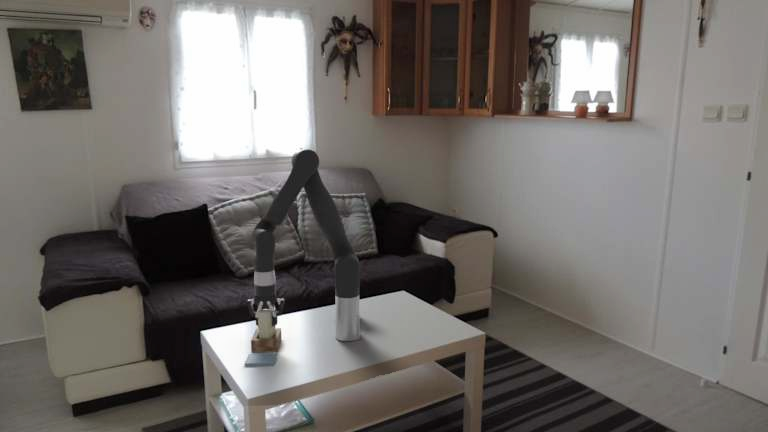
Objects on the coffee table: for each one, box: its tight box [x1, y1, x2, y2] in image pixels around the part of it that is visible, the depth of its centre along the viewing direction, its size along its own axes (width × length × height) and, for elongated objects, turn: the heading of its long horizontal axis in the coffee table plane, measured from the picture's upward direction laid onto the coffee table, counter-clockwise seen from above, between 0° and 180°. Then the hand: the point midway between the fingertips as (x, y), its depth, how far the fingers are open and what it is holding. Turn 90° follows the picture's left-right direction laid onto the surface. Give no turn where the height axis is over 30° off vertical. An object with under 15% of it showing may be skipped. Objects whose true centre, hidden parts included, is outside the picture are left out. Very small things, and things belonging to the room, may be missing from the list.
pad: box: [244, 352, 278, 367], centre depth 196 cm, size 10×8×1 cm
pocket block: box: [250, 327, 282, 353], centre depth 209 cm, size 9×11×4 cm
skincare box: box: [257, 309, 277, 339], centre depth 207 cm, size 6×4×12 cm
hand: (266, 325), depth 207 cm, fingers closed on skincare box, 5 cm apart
